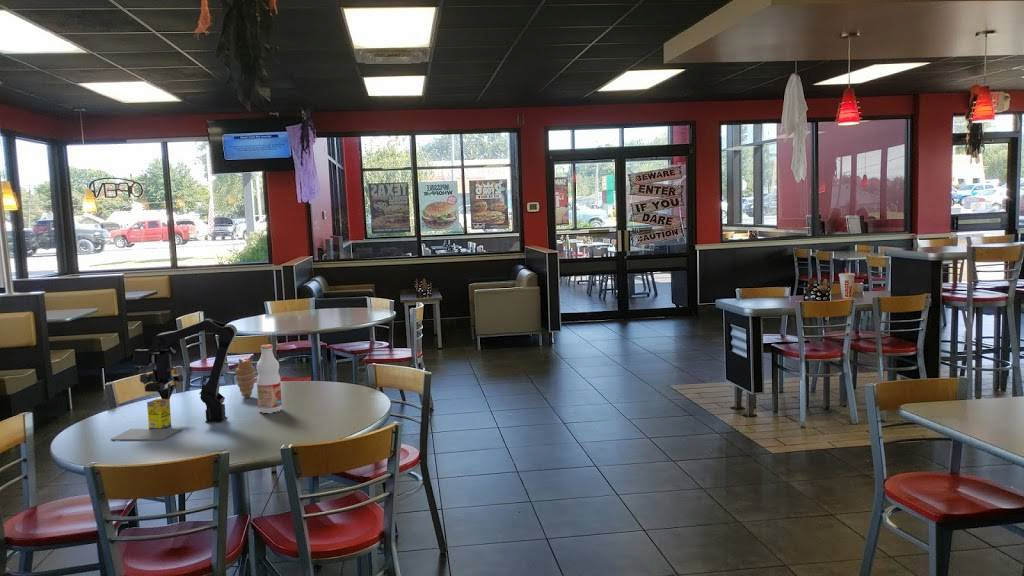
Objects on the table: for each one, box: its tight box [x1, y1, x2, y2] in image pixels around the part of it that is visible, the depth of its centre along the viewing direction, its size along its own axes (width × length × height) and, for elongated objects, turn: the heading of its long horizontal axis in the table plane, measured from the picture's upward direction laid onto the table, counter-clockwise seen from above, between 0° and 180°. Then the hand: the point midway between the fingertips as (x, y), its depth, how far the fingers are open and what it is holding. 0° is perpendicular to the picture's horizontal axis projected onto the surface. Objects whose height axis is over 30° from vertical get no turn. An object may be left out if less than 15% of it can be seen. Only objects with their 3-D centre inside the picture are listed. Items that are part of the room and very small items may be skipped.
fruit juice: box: [256, 343, 283, 414], centre depth 317 cm, size 9×9×28 cm
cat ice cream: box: [234, 357, 256, 399], centre depth 342 cm, size 9×8×18 cm
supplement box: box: [146, 398, 172, 429], centre depth 296 cm, size 6×6×11 cm
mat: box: [110, 428, 182, 442], centre depth 287 cm, size 20×13×1 cm, turn 86°
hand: (165, 404), depth 301 cm, fingers closed
